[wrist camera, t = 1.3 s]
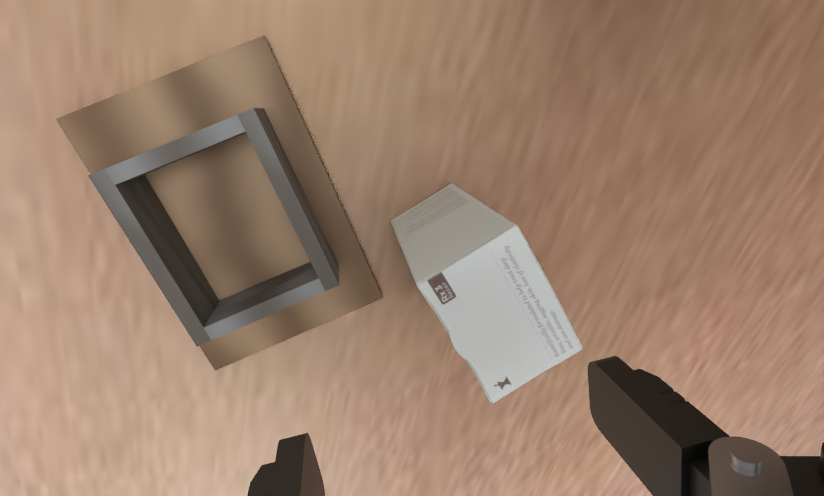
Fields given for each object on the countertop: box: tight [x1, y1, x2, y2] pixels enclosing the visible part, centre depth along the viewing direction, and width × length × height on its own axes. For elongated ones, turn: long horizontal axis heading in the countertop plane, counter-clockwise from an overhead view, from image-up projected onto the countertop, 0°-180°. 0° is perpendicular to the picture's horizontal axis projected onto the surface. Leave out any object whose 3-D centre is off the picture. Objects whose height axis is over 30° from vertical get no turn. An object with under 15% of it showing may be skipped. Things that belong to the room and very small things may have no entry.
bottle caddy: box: [56, 36, 383, 370], centre depth 31 cm, size 14×20×6 cm
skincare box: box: [390, 183, 582, 403], centre depth 30 cm, size 8×6×15 cm
